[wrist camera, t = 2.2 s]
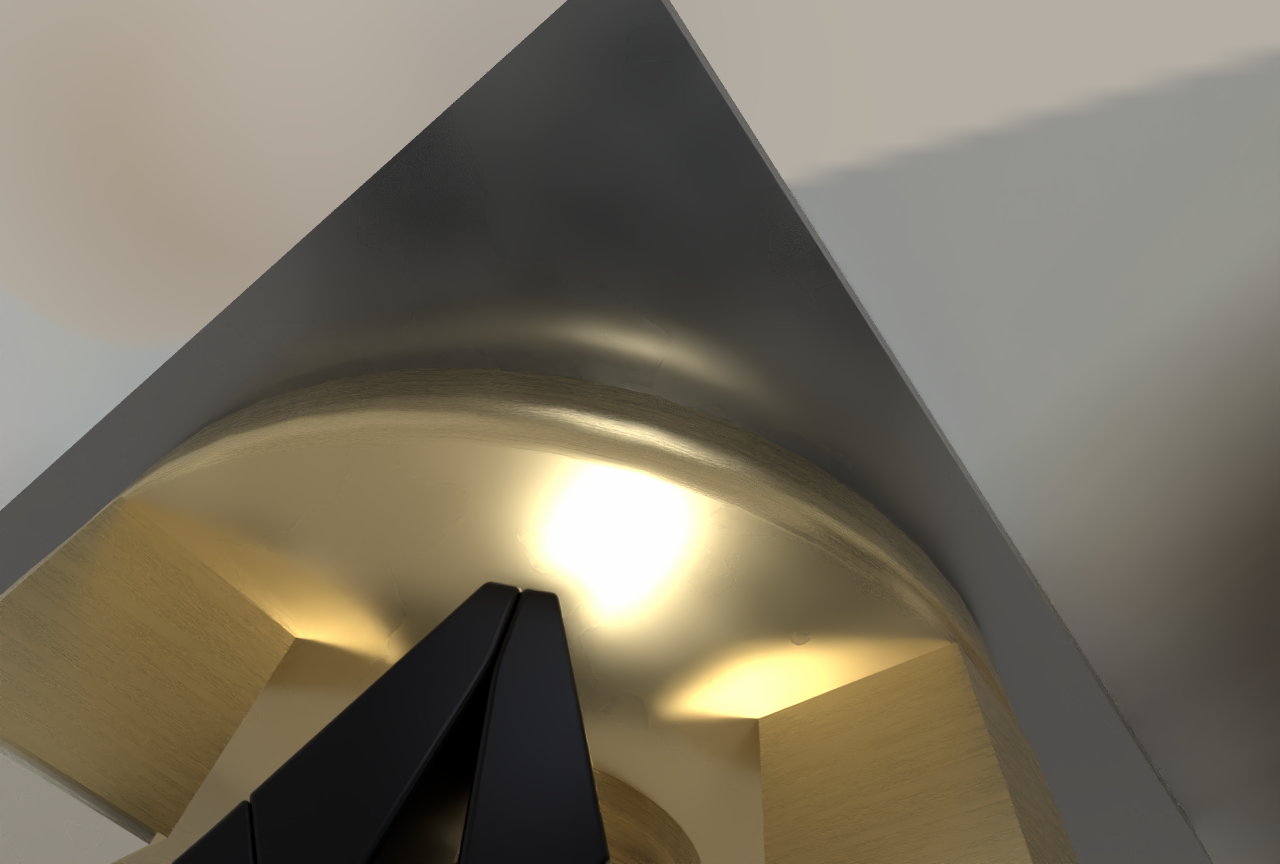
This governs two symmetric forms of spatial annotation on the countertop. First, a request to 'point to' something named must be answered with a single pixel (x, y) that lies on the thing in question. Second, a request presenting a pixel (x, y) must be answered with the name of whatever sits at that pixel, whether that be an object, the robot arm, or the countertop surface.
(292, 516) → the brass lugged disc
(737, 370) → the plate
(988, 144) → the countertop surface
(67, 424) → the countertop surface
